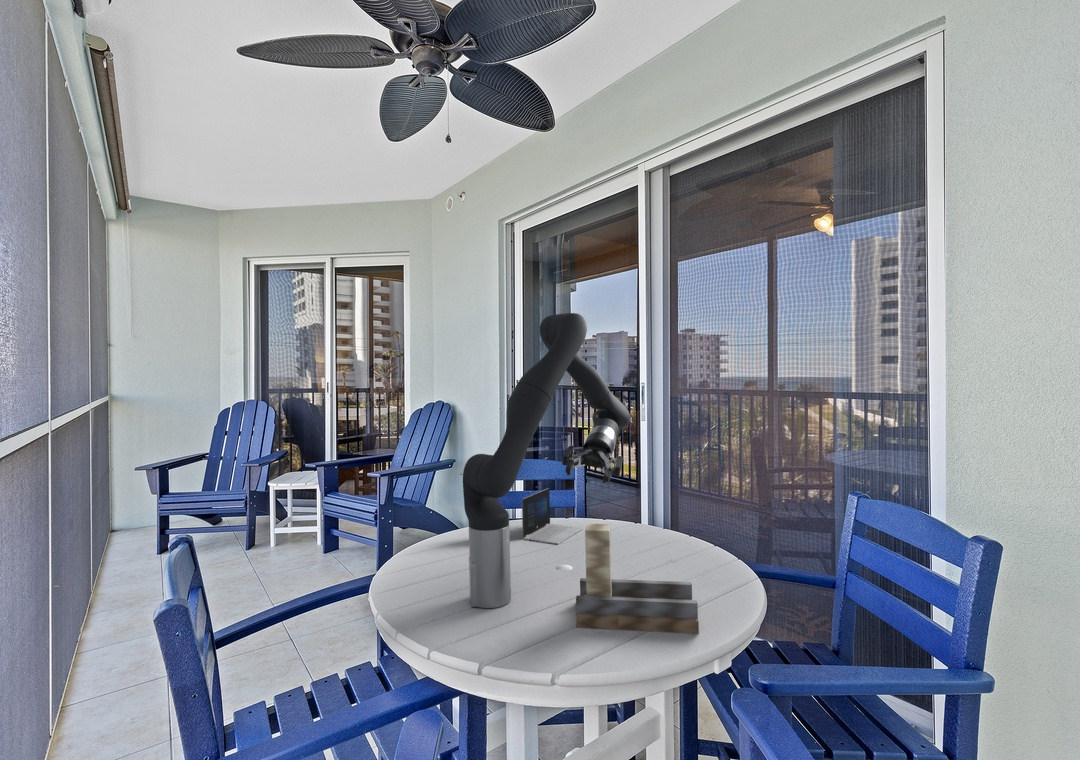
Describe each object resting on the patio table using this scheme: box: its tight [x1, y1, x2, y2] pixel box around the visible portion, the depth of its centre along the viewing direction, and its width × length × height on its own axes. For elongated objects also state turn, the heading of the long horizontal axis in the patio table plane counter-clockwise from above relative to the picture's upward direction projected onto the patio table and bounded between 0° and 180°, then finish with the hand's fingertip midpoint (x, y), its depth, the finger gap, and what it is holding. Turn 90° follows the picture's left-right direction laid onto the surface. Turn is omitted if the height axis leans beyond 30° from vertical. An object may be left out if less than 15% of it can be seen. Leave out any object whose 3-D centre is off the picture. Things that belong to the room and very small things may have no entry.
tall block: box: [584, 523, 612, 597], centre depth 115 cm, size 5×5×16 cm
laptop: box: [521, 487, 584, 545], centre depth 174 cm, size 18×12×13 cm
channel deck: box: [575, 577, 700, 635], centre depth 114 cm, size 24×13×6 cm, turn 81°
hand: (586, 476), depth 126 cm, fingers open, 8 cm apart
